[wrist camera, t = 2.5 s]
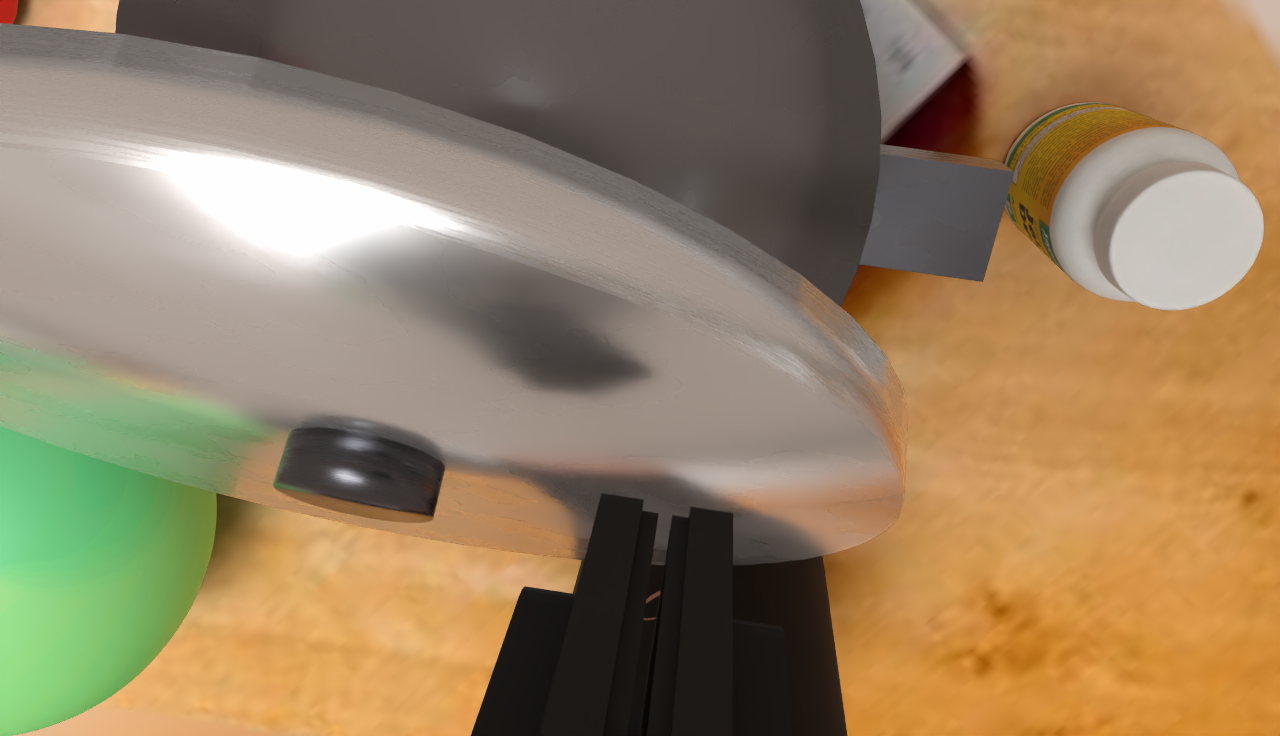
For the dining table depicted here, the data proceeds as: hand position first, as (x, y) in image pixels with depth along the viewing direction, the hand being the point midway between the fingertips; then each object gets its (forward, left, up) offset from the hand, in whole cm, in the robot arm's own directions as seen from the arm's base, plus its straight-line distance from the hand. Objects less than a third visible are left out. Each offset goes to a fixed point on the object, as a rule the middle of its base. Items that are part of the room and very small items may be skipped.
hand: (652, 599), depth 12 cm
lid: (+6, +1, -7) cm, 9 cm away
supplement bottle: (-13, -2, -26) cm, 29 cm away
